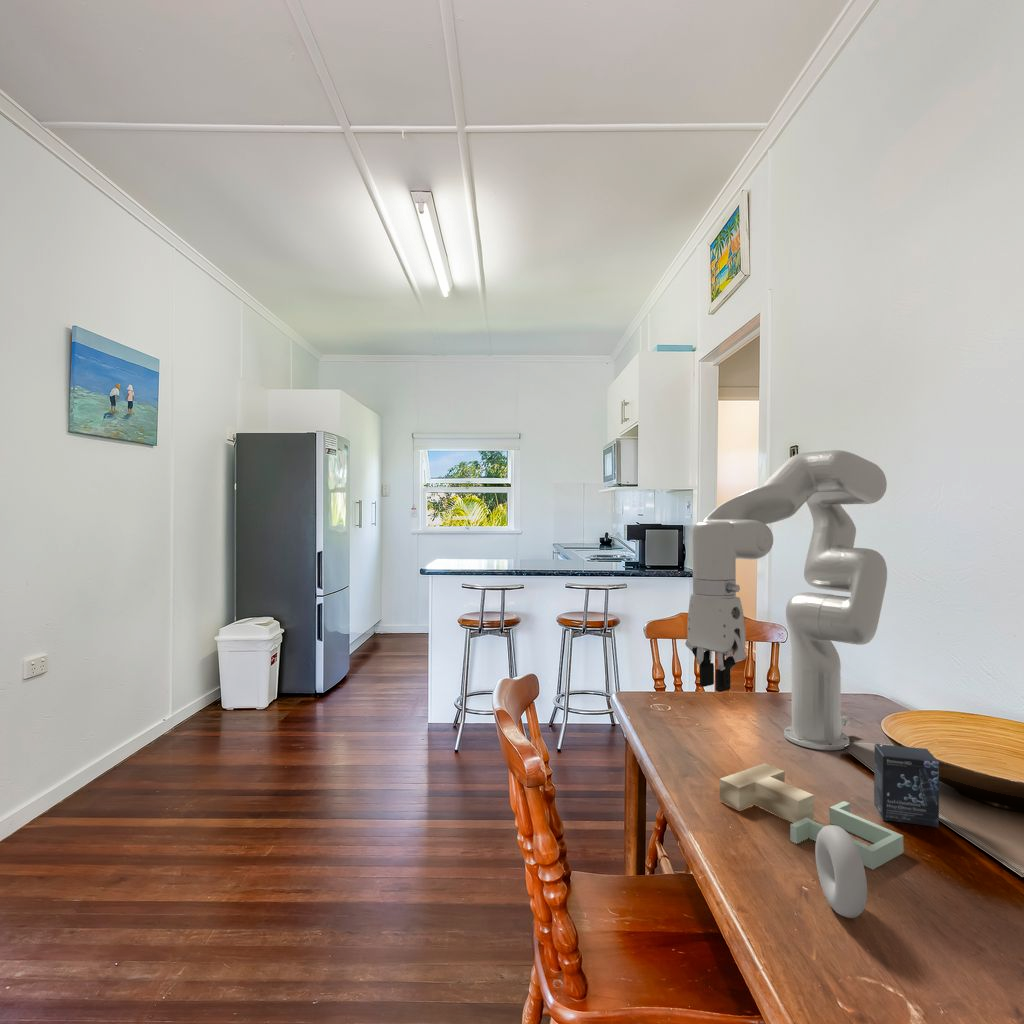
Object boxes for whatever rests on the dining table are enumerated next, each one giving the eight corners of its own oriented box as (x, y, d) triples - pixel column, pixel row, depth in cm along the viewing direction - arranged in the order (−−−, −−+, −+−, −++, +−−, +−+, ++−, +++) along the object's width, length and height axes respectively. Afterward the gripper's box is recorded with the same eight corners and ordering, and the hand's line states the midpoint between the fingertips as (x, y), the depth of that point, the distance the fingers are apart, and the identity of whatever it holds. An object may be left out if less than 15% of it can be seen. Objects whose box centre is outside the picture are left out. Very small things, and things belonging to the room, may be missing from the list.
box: (883, 821, 97) (882, 755, 97) (873, 805, 103) (873, 742, 103) (940, 829, 95) (939, 761, 95) (927, 811, 100) (927, 747, 100)
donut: (811, 884, 81) (810, 809, 81) (838, 886, 81) (838, 810, 81) (841, 936, 71) (840, 851, 71) (873, 939, 71) (872, 853, 71)
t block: (719, 802, 104) (719, 778, 104) (764, 785, 110) (764, 763, 110) (782, 833, 94) (782, 807, 94) (828, 813, 100) (828, 788, 100)
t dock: (844, 816, 99) (843, 801, 99) (914, 846, 90) (913, 829, 90) (790, 841, 92) (790, 824, 92) (860, 876, 83) (860, 858, 83)
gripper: (766, 591, 107) (766, 696, 107) (694, 582, 121) (694, 675, 121) (737, 594, 103) (738, 703, 103) (666, 585, 117) (667, 680, 118)
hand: (714, 687), depth 112 cm, fingers open, 3 cm apart
